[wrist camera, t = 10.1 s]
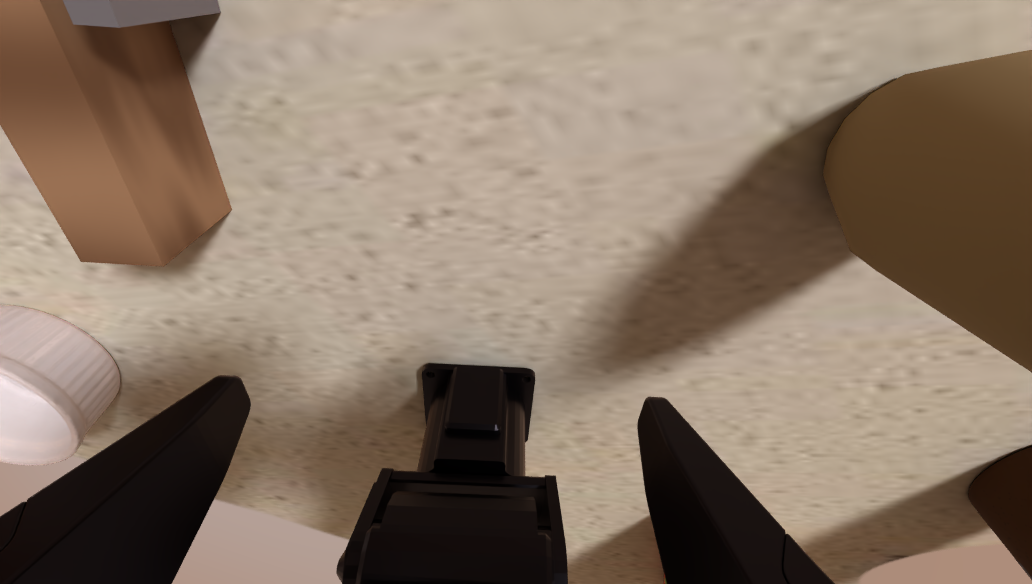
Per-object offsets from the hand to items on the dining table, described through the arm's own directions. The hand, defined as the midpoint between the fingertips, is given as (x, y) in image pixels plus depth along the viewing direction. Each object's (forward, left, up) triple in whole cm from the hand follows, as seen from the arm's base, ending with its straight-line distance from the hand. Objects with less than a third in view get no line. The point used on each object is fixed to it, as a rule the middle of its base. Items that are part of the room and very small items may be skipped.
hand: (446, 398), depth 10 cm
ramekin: (-12, +25, -12) cm, 30 cm away
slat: (+4, +13, -12) cm, 18 cm away
